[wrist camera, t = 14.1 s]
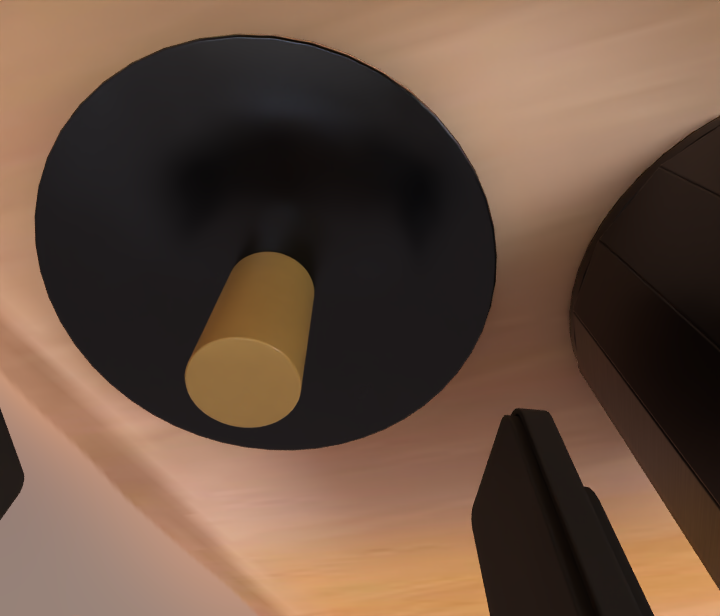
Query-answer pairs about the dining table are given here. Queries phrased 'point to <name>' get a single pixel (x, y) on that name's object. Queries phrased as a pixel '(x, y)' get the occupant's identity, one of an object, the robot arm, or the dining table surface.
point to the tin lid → (265, 242)
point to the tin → (662, 331)
